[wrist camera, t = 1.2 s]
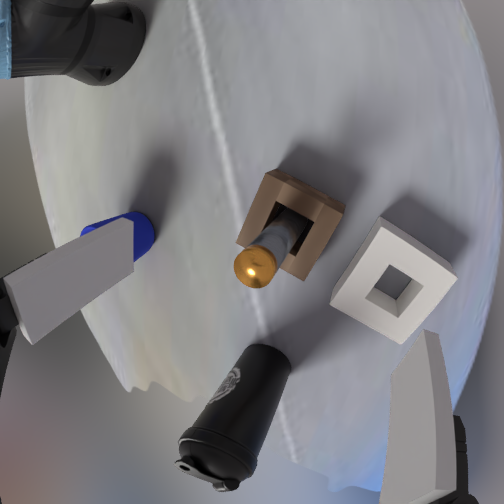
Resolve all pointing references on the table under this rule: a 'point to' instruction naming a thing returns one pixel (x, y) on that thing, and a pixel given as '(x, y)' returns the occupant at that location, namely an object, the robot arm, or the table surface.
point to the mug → (141, 232)
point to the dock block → (371, 269)
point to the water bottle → (235, 420)
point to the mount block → (302, 201)
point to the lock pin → (269, 249)
